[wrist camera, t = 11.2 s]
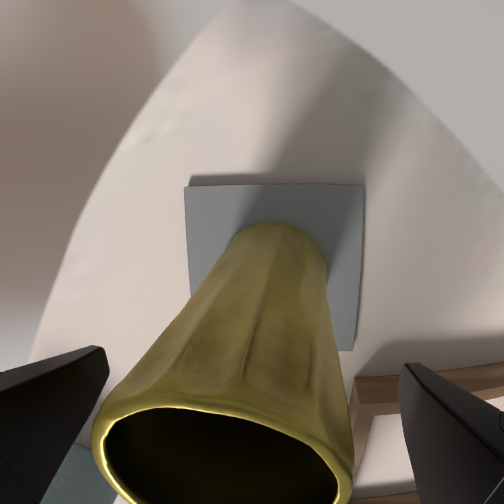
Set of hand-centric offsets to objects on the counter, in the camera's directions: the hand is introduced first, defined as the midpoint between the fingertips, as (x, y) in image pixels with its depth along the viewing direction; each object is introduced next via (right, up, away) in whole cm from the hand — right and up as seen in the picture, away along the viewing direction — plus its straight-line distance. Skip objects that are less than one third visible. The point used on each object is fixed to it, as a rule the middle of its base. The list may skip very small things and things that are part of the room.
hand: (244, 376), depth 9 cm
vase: (+1, +2, +10) cm, 10 cm away
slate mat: (+2, +2, +10) cm, 11 cm away
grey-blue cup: (-19, -22, +19) cm, 35 cm away
